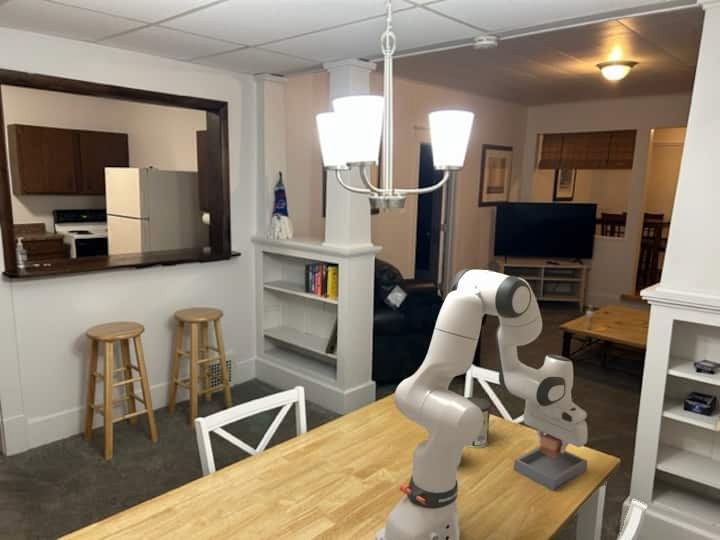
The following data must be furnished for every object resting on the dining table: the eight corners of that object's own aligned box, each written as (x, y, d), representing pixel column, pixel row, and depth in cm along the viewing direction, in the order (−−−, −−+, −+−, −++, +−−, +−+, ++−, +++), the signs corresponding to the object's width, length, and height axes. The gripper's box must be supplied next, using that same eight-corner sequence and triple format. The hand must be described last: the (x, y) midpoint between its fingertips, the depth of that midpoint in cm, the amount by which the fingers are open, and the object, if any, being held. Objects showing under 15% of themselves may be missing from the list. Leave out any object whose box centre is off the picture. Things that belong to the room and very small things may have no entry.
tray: (553, 491, 152) (554, 480, 151) (513, 469, 163) (514, 459, 162) (586, 471, 163) (587, 460, 162) (547, 452, 174) (547, 442, 173)
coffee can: (468, 430, 188) (470, 394, 186) (493, 440, 181) (496, 402, 179) (452, 440, 181) (453, 402, 178) (477, 451, 174) (480, 412, 171)
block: (554, 458, 158) (555, 443, 158) (540, 451, 162) (541, 436, 161) (563, 453, 161) (564, 438, 161) (549, 446, 165) (550, 432, 164)
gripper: (520, 397, 165) (517, 437, 168) (580, 421, 149) (576, 465, 152) (532, 392, 169) (529, 431, 172) (592, 415, 153) (588, 458, 156)
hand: (552, 447), depth 162 cm, fingers closed on block, 5 cm apart
